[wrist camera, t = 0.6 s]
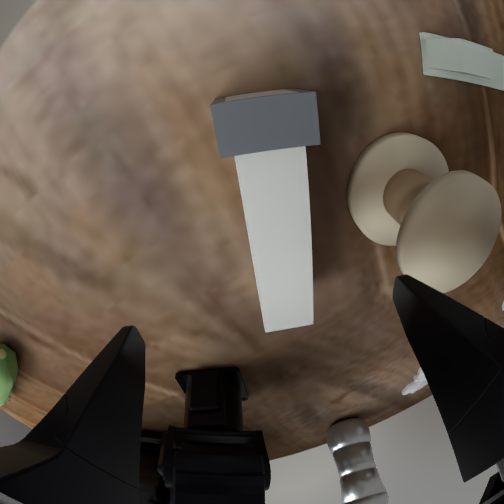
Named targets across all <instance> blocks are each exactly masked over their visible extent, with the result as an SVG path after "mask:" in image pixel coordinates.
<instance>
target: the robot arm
mask: <svg viewBox="0 0 504 504" xmlns="http://www.w3.org/2000/svg"><path fill="white" fill-rule="evenodd" d="M393 301H394V304H395V306H396V309H397V312H398V314H399V317H400V320H401V323H402V325H403V328H404V331H405V334H406V336H407V338H408V341H409V343H410V345H411V347H412V349H413V351H414V353H415V356H416V358H417V360H418V362H419V364H420V366H421V369H422V371H423V373H424V375H425V378H426V380H427V382H428V385H429V387H430V389H431V392H432V394H433V397H434V399H435V401H436V404H437V406H438V409H439V411H440V414H441V417H442V419H443V422H444V424H445V427H446V430H447V433H448V436H449V439H450V442H451V444H452V447H453V450H454V453H455V456H456V459H457V463H458V466H459V469H460V472H461V476H462V478H463V481H464V482H466V481H468V480H470V479H471V478H473V477H475V476H476V475H478V474H480V473H482V472H483V471H485V470H487V469H488V468H490V467H491V466H493V465H494V464H496V465H497V468H498V470H499V471H498V472H497V473H496V474H494V475H493V476H492V477H490V479H489V482H488V484H487V487H486V489H485V492H484V494H483V496H482V499H481V501H480V503H479V504H504V328H503V327H501V326H499V325H497V324H495V323H494V322H492V321H490V320H489V319H487V318H484V317H483V316H482V315H480V314H478V313H477V312H475V311H473V310H471V309H470V308H468V307H466V306H464V305H463V304H461V303H459V302H457V301H456V300H454V299H452V298H450V297H448V296H447V295H445V294H443V293H441V292H439V291H437V290H436V289H434V288H432V287H430V286H428V285H426V284H425V283H423V282H421V281H419V280H417V279H415V278H413V277H411V276H410V275H407V274H404V275H400V276H397V277H396V278H395V283H394V289H393ZM175 379H176V380H177V382H178V383H179V385H180V386H181V388H182V390H183V391H184V393H185V394H186V399H185V416H184V428H180V427H175V426H170V425H169V428H168V430H167V431H163V432H162V443H161V450H160V456H159V461H158V467H157V470H158V472H159V473H160V474H161V475H162V476H163V480H165V487H167V488H173V504H265V490H268V489H269V486H270V480H271V470H270V463H269V459H268V455H267V450H266V446H265V442H264V438H263V433H262V430H256V431H244V430H243V415H242V401H246V400H248V394H247V391H246V388H245V385H244V382H243V379H242V376H241V373H240V370H239V368H237V367H231V368H223V369H213V370H203V371H191V372H178V373H176V375H175ZM144 391H145V342H144V340H143V338H142V337H141V335H140V333H139V332H138V330H137V328H136V327H135V326H125V327H123V328H122V329H121V330H120V331H119V332H118V333H117V334H116V335H115V336H114V337H113V339H112V340H111V341H110V342H109V343H108V344H107V345H106V346H105V348H104V349H103V350H102V351H101V352H100V353H99V354H98V356H97V357H96V358H95V359H94V360H93V361H92V362H91V364H90V365H89V366H88V367H87V368H86V369H85V371H84V372H83V373H82V374H81V375H80V376H79V377H78V379H77V380H76V381H75V382H74V383H73V385H72V386H71V387H70V388H69V389H68V390H67V392H66V394H64V395H63V396H62V398H61V399H60V400H59V401H58V402H57V403H56V405H55V406H54V407H53V408H52V409H51V410H50V411H49V413H48V414H47V415H46V416H45V417H44V418H43V419H42V420H41V421H40V422H39V423H38V424H37V425H36V426H35V427H34V428H33V429H32V430H31V431H30V432H29V433H28V435H27V436H26V437H25V438H24V439H22V440H21V441H20V442H18V443H16V444H13V445H9V446H4V447H0V504H139V489H138V488H139V467H140V443H141V427H142V414H143V402H144ZM176 447H179V448H180V449H176Z"/></svg>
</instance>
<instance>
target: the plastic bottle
mask: <svg viewBox="0 0 504 504" xmlns="http://www.w3.org/2000/svg"><path fill="white" fill-rule="evenodd" d="M370 442H371V439H370V431H369V428H368V426H367V424H366V422H365V421H363V420H362V419H360V418H352V419H347V420H344V421H341V422H338V423H336V424H334V425H332V426H331V427H330V428H329V429H328V432H327V444H328V447H329V449H330V451H331V453H332V454H333V457H334V460H335V463H336V466H337V469H338V472H339V477H340V484H341V492H342V493H341V494H342V504H387V503H388V494H387V492H386V489H385V487H384V485H383V483H382V481H381V479H380V477H379V474H378V471H377V469H376V465H375V462H374V458H373V453H372V448H371V444H370Z"/></svg>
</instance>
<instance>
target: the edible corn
mask: <svg viewBox="0 0 504 504" xmlns="http://www.w3.org/2000/svg"><path fill="white" fill-rule="evenodd" d="M17 373H18V365H17V359H16V353H15V351H12V350H11V349H10V348H9V347H7V346H6V345H5V344H0V406H2V405H3V404H4V403H5V404H6V403H7V399H8V396H9V401H10V395H11V392H12V388H13V386H14V384H15V381H16V378H17Z"/></svg>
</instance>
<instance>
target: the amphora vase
mask: <svg viewBox="0 0 504 504" xmlns="http://www.w3.org/2000/svg"><path fill="white" fill-rule="evenodd" d="M161 443H162V434H157V433H151V432H141V443H140V467H139V488H138V489H139V504H173V488H167V487H165V480H163V476H162V475H161V474H160V473H159V472H158V470H157V467H158V461H159V456H160V450H161ZM176 449H180V448H179V447H176Z"/></svg>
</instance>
